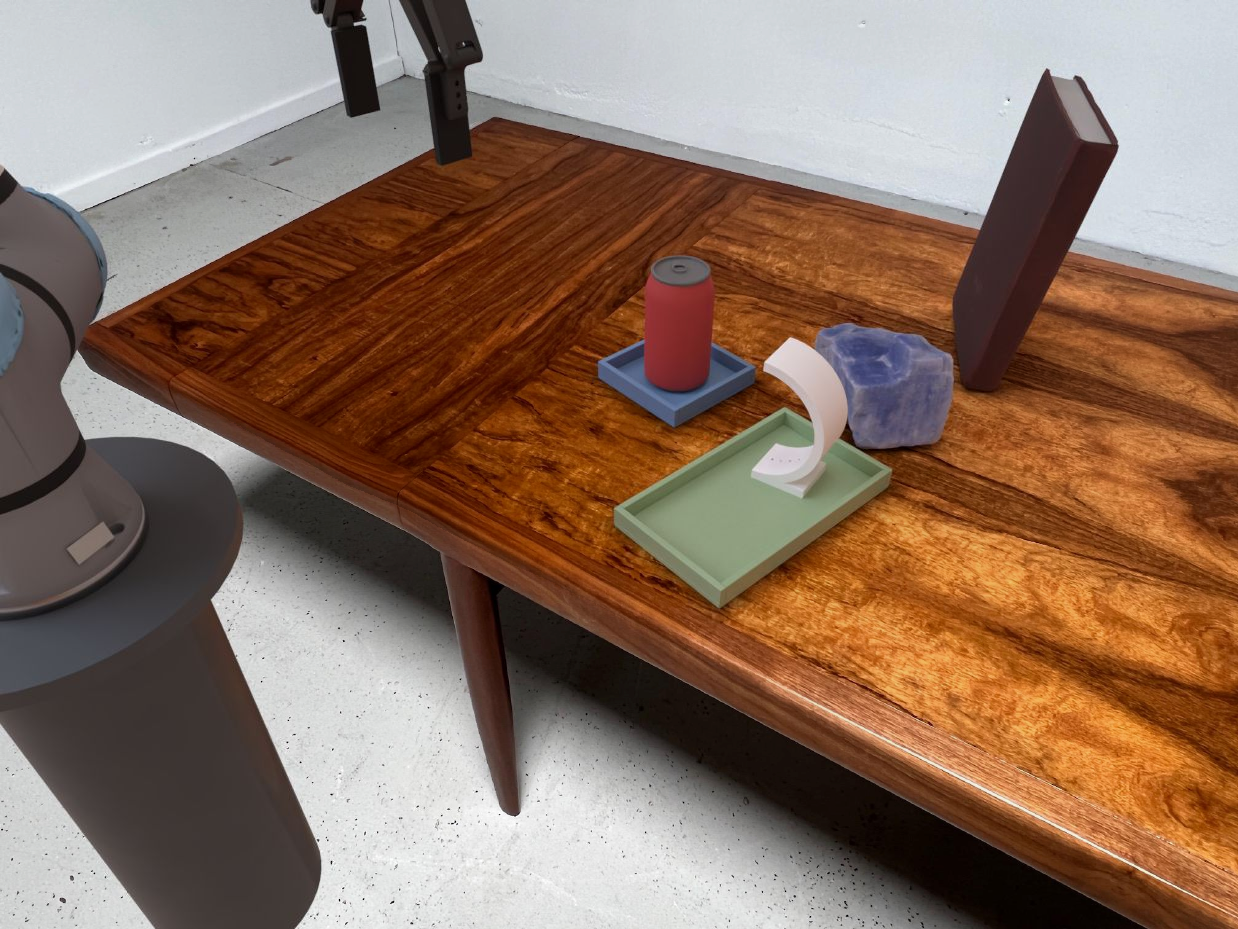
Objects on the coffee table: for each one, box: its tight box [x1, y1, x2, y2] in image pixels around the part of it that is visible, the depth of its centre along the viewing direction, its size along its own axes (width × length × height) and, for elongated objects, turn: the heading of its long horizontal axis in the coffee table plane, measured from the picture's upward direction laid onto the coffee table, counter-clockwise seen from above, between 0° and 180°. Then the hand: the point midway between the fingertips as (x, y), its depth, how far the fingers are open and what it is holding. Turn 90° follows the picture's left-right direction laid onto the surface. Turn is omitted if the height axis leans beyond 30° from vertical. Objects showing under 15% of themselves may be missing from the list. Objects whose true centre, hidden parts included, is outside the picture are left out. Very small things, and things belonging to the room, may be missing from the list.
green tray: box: [613, 406, 893, 610], centre depth 77 cm, size 21×12×2 cm, turn 131°
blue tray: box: [597, 338, 757, 428], centre depth 91 cm, size 11×11×2 cm
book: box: [951, 68, 1120, 393], centre depth 87 cm, size 17×26×4 cm
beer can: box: [643, 254, 716, 392], centre depth 88 cm, size 7×7×12 cm
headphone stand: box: [751, 336, 848, 499], centre depth 76 cm, size 5×6×12 cm
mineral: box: [814, 322, 955, 450], centre depth 86 cm, size 14×10×10 cm
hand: (406, 135), depth 71 cm, fingers open, 13 cm apart
